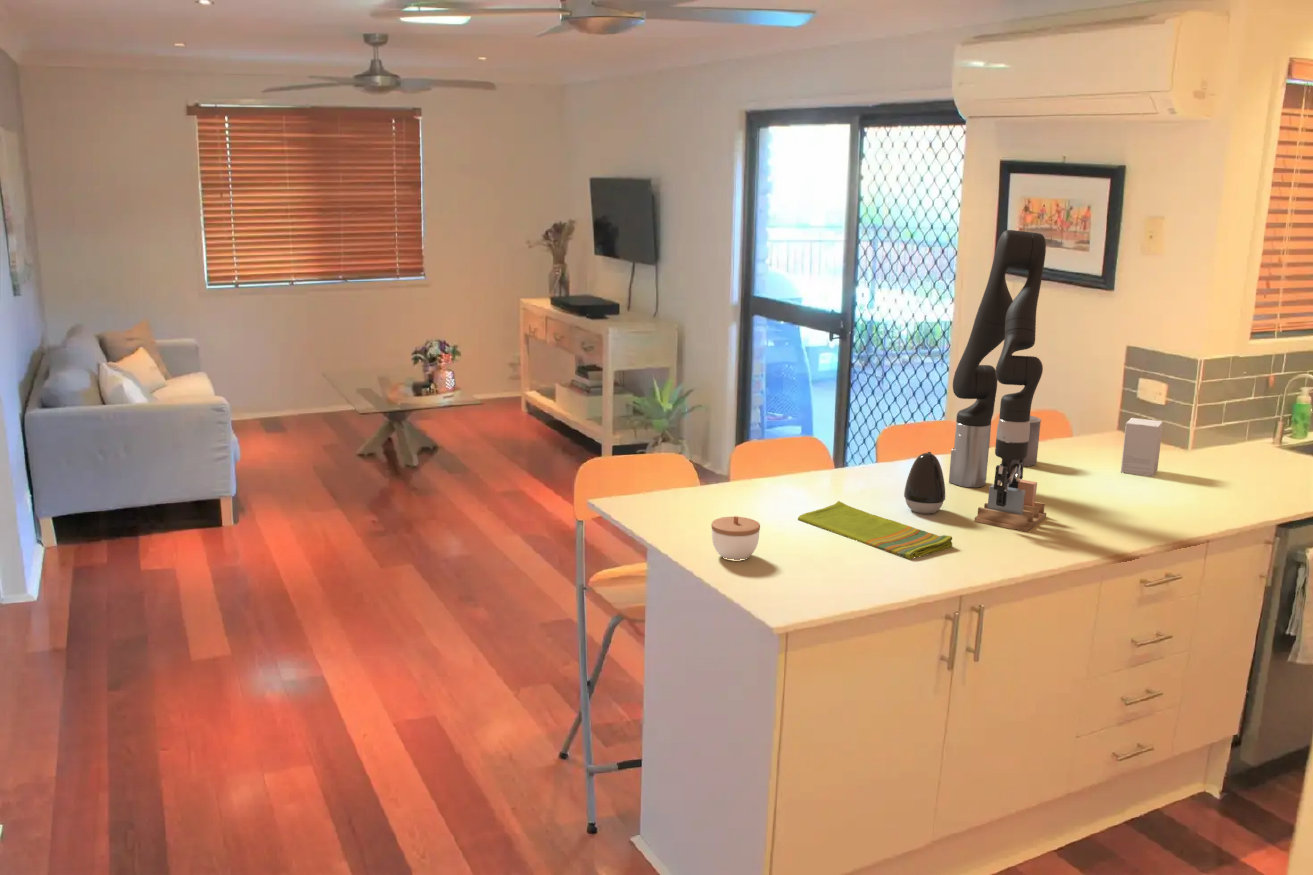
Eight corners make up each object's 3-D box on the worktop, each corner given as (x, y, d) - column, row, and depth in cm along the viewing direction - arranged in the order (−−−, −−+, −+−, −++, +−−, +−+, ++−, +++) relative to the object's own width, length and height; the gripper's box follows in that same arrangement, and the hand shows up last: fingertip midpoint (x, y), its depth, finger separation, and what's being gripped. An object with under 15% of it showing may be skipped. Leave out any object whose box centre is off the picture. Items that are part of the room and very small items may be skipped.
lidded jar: (707, 549, 248) (708, 509, 245) (754, 548, 249) (755, 509, 246) (713, 565, 237) (715, 524, 235) (762, 564, 238) (764, 524, 236)
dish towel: (911, 563, 242) (912, 549, 242) (796, 522, 270) (796, 509, 269) (954, 549, 252) (955, 536, 251) (838, 511, 279) (839, 499, 278)
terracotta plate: (999, 509, 277) (1002, 478, 275) (1002, 506, 279) (1005, 476, 277) (1031, 515, 273) (1034, 484, 271) (1034, 512, 275) (1037, 482, 273)
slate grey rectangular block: (986, 517, 270) (989, 486, 268) (990, 515, 272) (992, 484, 270) (1018, 523, 266) (1021, 492, 264) (1022, 521, 268) (1025, 490, 266)
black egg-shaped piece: (945, 507, 281) (950, 450, 278) (942, 518, 272) (946, 459, 268) (905, 503, 285) (909, 446, 281) (900, 514, 275) (904, 456, 272)
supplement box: (1158, 470, 320) (1164, 420, 316) (1153, 477, 313) (1159, 426, 309) (1125, 465, 325) (1131, 416, 321) (1119, 472, 317) (1125, 422, 314)
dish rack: (974, 521, 270) (975, 507, 269) (995, 507, 282) (996, 494, 281) (1027, 531, 263) (1028, 518, 262) (1046, 516, 275) (1047, 503, 274)
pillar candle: (1000, 457, 332) (1004, 409, 328) (1033, 459, 331) (1038, 410, 327) (1005, 466, 323) (1010, 416, 319) (1039, 467, 321) (1044, 418, 318)
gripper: (1006, 430, 272) (1001, 492, 275) (987, 440, 260) (981, 505, 264) (1037, 434, 267) (1031, 497, 271) (1018, 445, 256) (1012, 511, 260)
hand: (1006, 501), depth 268 cm, fingers open, 8 cm apart
